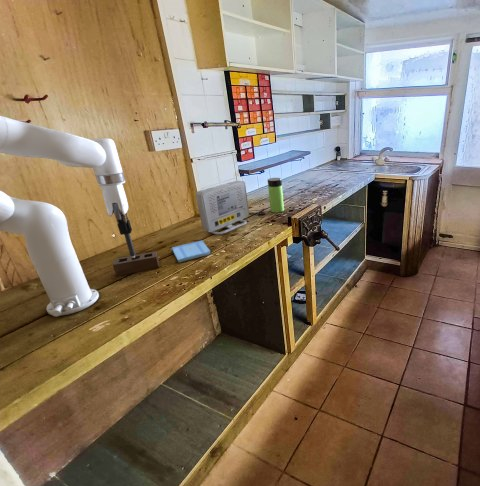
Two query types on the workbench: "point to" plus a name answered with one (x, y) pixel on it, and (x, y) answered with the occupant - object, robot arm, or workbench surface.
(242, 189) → the network device
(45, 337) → the workbench surface
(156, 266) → the pen stand
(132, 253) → the stylus
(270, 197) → the tumbler
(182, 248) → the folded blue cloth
